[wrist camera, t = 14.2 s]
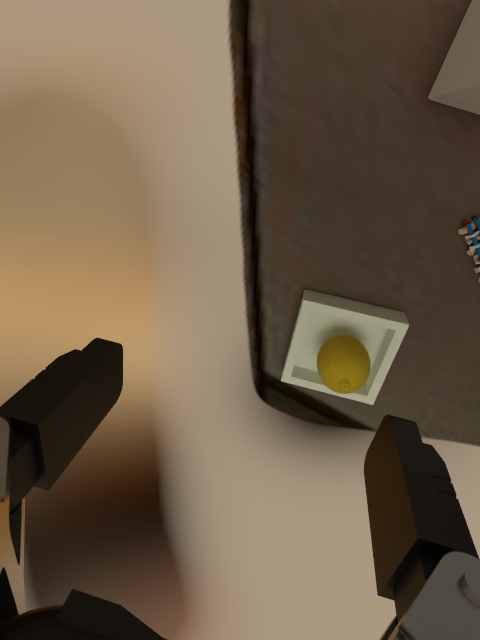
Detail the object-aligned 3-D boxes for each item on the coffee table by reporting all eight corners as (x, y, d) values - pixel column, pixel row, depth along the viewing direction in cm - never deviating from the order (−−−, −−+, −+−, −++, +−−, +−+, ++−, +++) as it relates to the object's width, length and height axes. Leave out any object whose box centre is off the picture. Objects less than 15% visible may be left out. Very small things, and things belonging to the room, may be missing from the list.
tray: (403, 311, 40) (409, 324, 37) (370, 388, 45) (372, 404, 43) (304, 288, 41) (303, 299, 38) (283, 366, 46) (280, 380, 44)
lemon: (321, 366, 44) (321, 410, 38) (313, 326, 42) (310, 365, 35) (369, 361, 43) (377, 406, 36) (363, 319, 41) (370, 359, 34)
